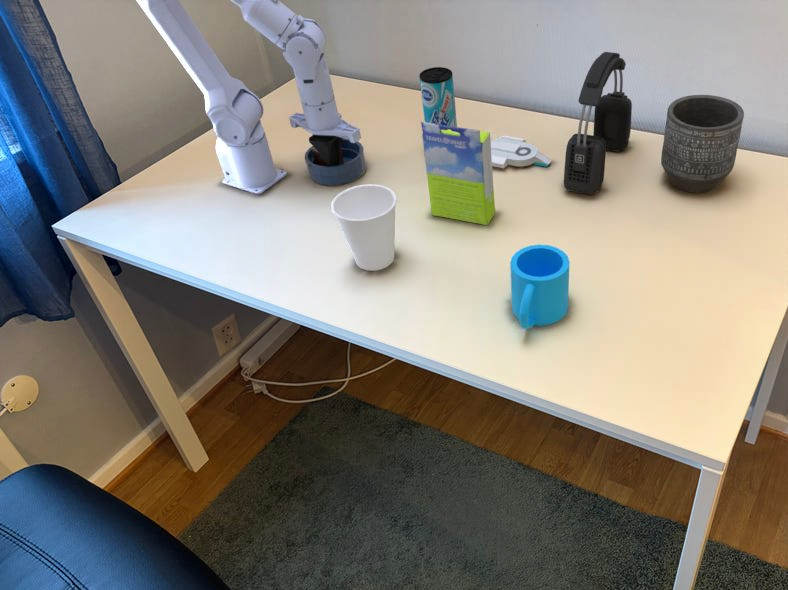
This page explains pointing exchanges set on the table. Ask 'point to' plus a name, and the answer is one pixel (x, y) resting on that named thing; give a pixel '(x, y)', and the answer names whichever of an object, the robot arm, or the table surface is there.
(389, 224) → the cup
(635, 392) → the table surface
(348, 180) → the bowl
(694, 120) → the planter
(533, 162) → the toy rocket
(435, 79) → the blue printed cylinder
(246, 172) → the robot arm
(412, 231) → the table surface
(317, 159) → the block
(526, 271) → the mug
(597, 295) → the table surface
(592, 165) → the headphones
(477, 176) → the box
